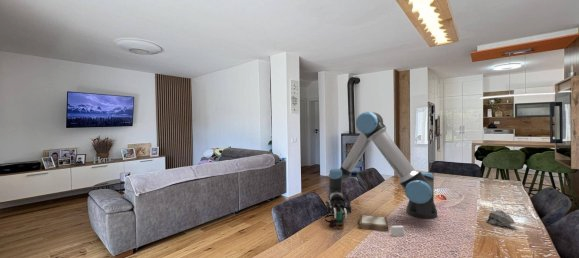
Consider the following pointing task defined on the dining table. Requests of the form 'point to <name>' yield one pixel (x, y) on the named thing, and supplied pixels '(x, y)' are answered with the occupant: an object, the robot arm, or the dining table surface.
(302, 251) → the dining table surface
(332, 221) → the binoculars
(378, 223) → the plinth
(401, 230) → the price sign
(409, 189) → the robot arm
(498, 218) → the mineral specimen
